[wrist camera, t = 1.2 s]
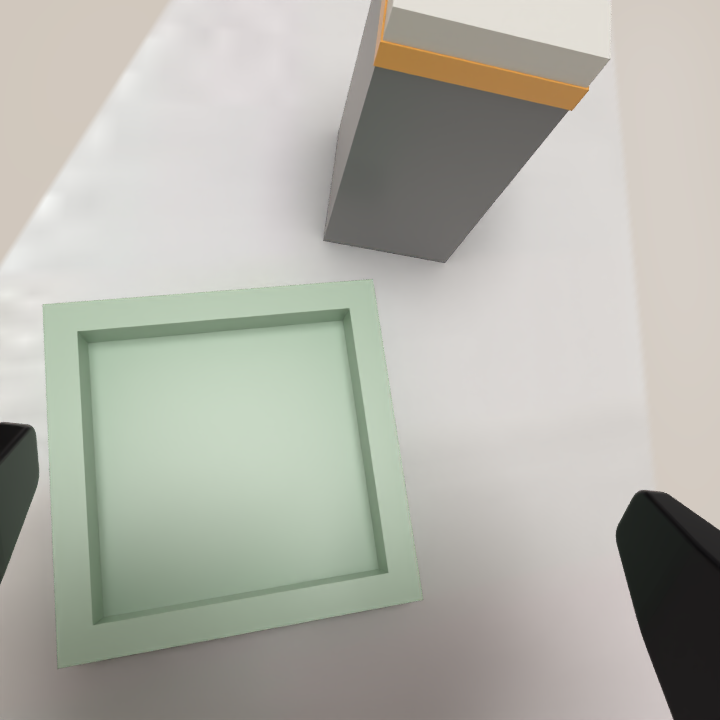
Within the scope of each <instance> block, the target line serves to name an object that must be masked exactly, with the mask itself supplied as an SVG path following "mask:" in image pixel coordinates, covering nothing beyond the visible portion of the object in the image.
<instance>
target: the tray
mask: <svg viewBox="0 0 720 720" xmlns="http://www.w3.org/2000/svg"><path fill="white" fill-rule="evenodd" d="M43 327H44V351H45V376H46V400H47V424H48V448H49V472H50V496H51V521H52V545H53V569H54V593H55V617H56V642H57V666H58V669H59V668H65V667H70V666H75V665H81V664H86V663H91V662H97V661H102V660H107V659H112V658H118V657H123V656H128V655H134V654H139V653H144V652H150V651H155V650H160V649H166V648H171V647H176V646H181V645H187V644H192V643H197V642H203V641H208V640H213V639H219V638H224V637H229V636H235V635H240V634H245V633H250V632H256V631H261V630H266V629H272V628H277V627H282V626H288V625H293V624H298V623H304V622H309V621H314V620H320V619H325V618H330V617H335V616H341V615H346V614H351V613H357V612H362V611H367V610H373V609H378V608H383V607H389V606H394V605H399V604H404V603H410V602H415V601H420V600H423V595H422V589H421V583H420V576H419V570H418V563H417V557H416V551H415V544H414V538H413V532H412V525H411V519H410V513H409V506H408V500H407V494H406V487H405V481H404V474H403V468H402V462H401V455H400V449H399V443H398V436H397V430H396V424H395V417H394V411H393V405H392V398H391V392H390V386H389V379H388V373H387V366H386V360H385V354H384V347H383V341H382V335H381V328H380V322H379V316H378V309H377V303H376V297H375V290H374V284H373V279H368V280H355V281H342V282H329V283H316V284H303V285H290V286H277V287H264V288H251V289H238V290H225V291H212V292H199V293H186V294H173V295H159V296H146V297H133V298H120V299H107V300H94V301H81V302H68V303H55V304H43Z"/></svg>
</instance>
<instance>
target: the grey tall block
mask: <svg viewBox="0 0 720 720" xmlns="http://www.w3.org/2000/svg"><path fill="white" fill-rule="evenodd" d="M610 54H611V0H371V4H370V8H369V12H368V16H367V20H366V24H365V28H364V32H363V36H362V40H361V44H360V48H359V52H358V56H357V60H356V64H355V68H354V72H353V76H352V80H351V84H350V88H349V92H348V96H347V100H346V104H345V108H344V112H343V116H342V120H341V124H340V128H339V132H338V140H337V147H336V154H335V161H334V168H333V175H332V182H331V190H330V197H329V204H328V211H327V218H326V225H325V232H324V240H323V241H329V242H334V243H340V244H345V245H350V246H356V247H361V248H367V249H372V250H378V251H383V252H389V253H394V254H400V255H405V256H410V257H416V258H421V259H427V260H432V261H438V262H443V263H445V262H446V261H447V260H448V258H449V257H450V256H451V255H452V253H453V252H454V251H455V250H456V248H457V247H458V246H459V245H460V244H461V242H462V241H463V240H464V239H465V237H466V236H467V235H468V234H469V232H470V231H471V230H472V229H473V228H474V226H475V225H476V224H477V223H478V221H479V220H480V219H481V218H482V216H483V215H484V214H485V213H486V212H487V210H488V209H489V208H490V207H491V205H492V204H493V203H494V202H495V200H496V199H497V198H498V197H499V196H500V194H501V193H502V192H503V191H504V189H505V188H506V187H507V186H508V184H509V183H510V182H511V181H512V180H513V178H514V177H515V176H516V175H517V173H518V172H519V171H520V170H521V168H522V167H523V166H524V165H525V164H526V162H527V161H528V160H529V159H530V157H531V156H532V155H533V154H534V152H535V151H536V150H537V149H538V148H539V146H540V145H541V144H542V143H543V141H544V140H545V139H546V138H547V136H548V135H549V134H550V133H551V132H552V130H553V129H554V128H555V127H556V125H557V124H558V123H559V122H560V120H561V119H562V118H563V117H564V116H565V114H566V113H567V112H568V111H569V110H571V111H572V110H573V109H574V108H575V106H576V105H577V104H578V103H579V102H580V100H581V99H582V98H583V97H584V95H585V94H586V93H587V92H588V91H589V85H590V84H591V82H592V81H593V80H594V79H595V77H596V76H597V75H598V74H599V72H600V71H601V70H602V69H603V68H604V66H605V65H606V64H607V63H608V61H609V60H610Z"/></svg>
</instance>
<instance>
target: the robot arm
mask: <svg viewBox="0 0 720 720" xmlns="http://www.w3.org/2000/svg"><path fill="white" fill-rule="evenodd" d="M38 479H39V463H38V451H37V440H36V433H35V430H34V428H33V427H32V426H30V425H28V424H19V423H10V422H1V423H0V584H1V581H2V579H3V576H4V574H5V571H6V569H7V566H8V563H9V561H10V558H11V555H12V552H13V550H14V547H15V544H16V542H17V539H18V536H19V534H20V531H21V528H22V526H23V523H24V520H25V518H26V515H27V512H28V510H29V507H30V504H31V502H32V499H33V496H34V493H35V491H36V488H37V484H38ZM616 542H617V547H618V550H619V554H620V558H621V562H622V565H623V569H624V573H625V576H626V580H627V584H628V588H629V591H630V595H631V599H632V603H633V606H634V610H635V614H636V617H637V621H638V624H639V627H640V631H641V634H642V637H643V640H644V642H645V645H646V648H647V651H648V653H649V656H650V659H651V661H652V664H653V667H654V669H655V672H656V675H657V677H658V680H659V683H660V685H661V688H662V690H663V693H664V696H665V698H666V701H667V704H668V706H669V709H670V712H671V714H672V717H673V720H720V530H719V529H717V528H716V527H714V526H713V525H711V524H710V523H709V522H707V521H706V520H704V519H703V518H701V517H700V516H699V515H697V514H696V513H694V512H693V511H691V510H690V509H689V508H687V507H686V506H684V505H683V504H682V503H680V502H679V501H677V500H675V499H674V498H673V497H672V496H670V495H669V494H667V493H664V492H659V491H649V490H641V491H638V492H637V493H636V494H635V495H634V496H633V498H632V500H631V502H630V504H629V505H628V507H627V509H626V511H625V513H624V515H623V517H622V519H621V520H620V522H619V524H618V526H617V530H616Z"/></svg>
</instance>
